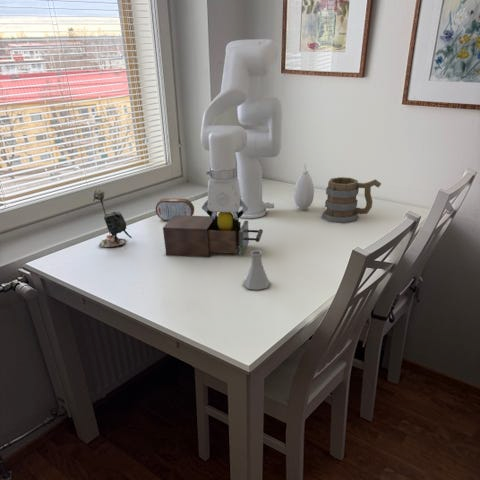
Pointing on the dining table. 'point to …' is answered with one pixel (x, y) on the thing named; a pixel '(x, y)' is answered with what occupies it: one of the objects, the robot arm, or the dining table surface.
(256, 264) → the flask
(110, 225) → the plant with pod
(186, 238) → the cabinet
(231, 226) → the lemon
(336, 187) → the tankard
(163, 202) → the tin
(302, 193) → the air blower bulb
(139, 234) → the dining table surface
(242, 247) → the drawer
